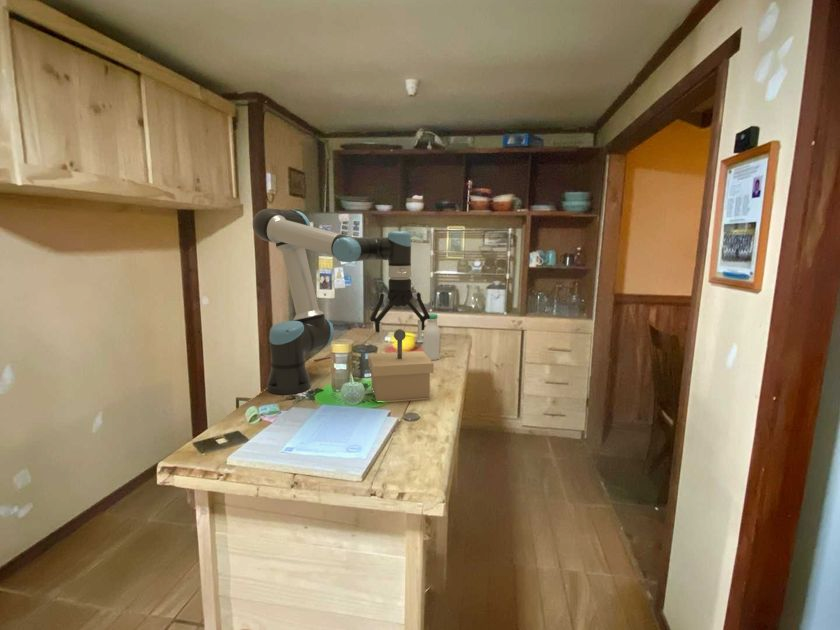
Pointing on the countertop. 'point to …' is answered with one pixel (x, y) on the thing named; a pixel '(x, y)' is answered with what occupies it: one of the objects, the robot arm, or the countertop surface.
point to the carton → (401, 387)
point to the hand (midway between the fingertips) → (400, 340)
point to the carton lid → (400, 360)
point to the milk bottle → (432, 338)
